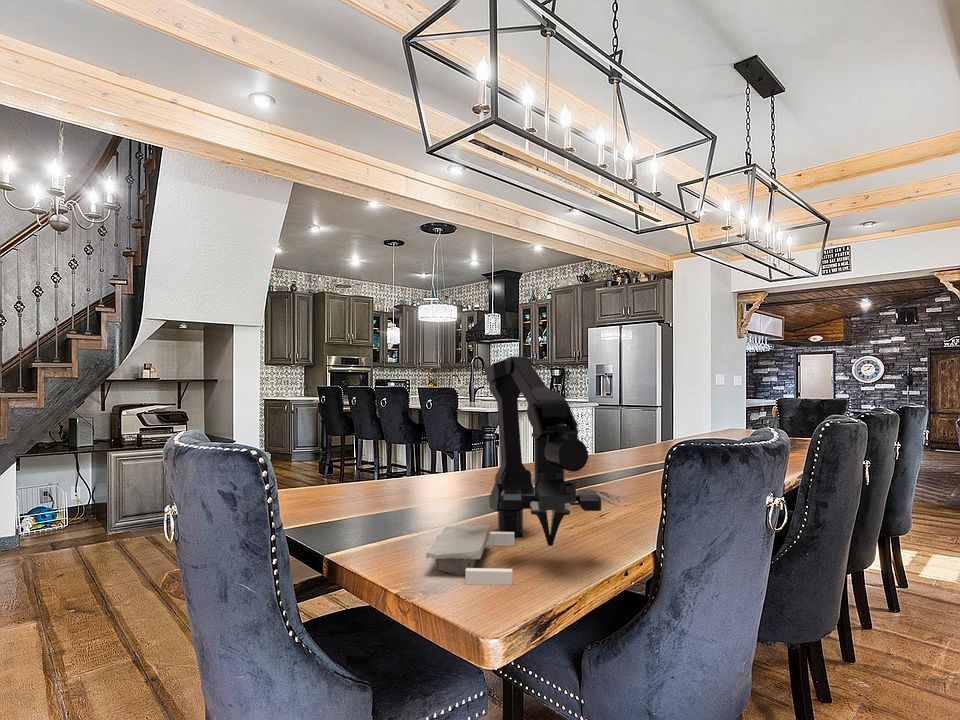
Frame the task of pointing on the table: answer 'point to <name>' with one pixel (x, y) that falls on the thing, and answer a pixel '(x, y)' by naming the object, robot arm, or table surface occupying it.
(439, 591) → the table surface
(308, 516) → the table surface
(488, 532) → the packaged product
